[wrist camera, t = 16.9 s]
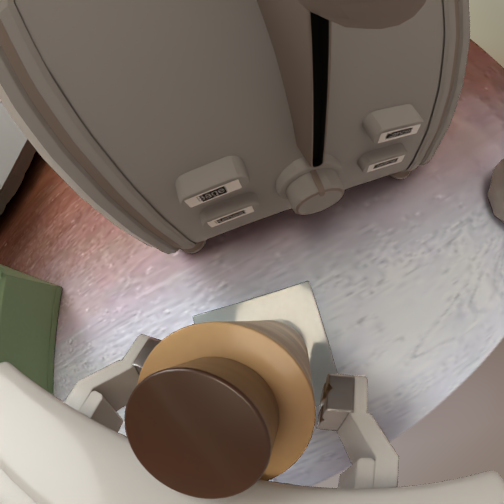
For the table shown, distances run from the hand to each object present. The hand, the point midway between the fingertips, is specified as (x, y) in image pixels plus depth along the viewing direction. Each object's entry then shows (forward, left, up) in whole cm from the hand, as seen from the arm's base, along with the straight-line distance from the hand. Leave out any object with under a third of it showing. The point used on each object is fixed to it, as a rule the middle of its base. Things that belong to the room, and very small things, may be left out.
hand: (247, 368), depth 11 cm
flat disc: (+33, +31, -8) cm, 46 cm away
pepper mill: (-1, 0, -7) cm, 7 cm away
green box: (+6, +25, -8) cm, 27 cm away
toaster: (+27, -5, -8) cm, 28 cm away
